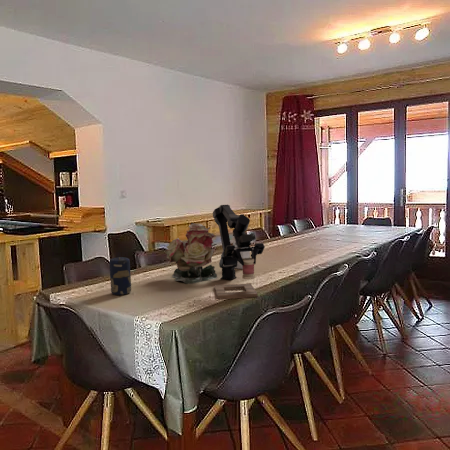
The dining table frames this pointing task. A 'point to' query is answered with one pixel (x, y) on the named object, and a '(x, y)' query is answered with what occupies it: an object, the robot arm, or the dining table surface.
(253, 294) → the brown flat piece
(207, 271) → the rose bouquet
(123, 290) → the dark blue canister
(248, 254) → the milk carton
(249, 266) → the red and beige cylinder
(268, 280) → the dining table surface
